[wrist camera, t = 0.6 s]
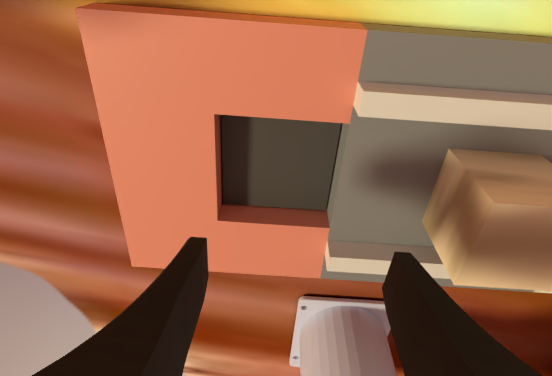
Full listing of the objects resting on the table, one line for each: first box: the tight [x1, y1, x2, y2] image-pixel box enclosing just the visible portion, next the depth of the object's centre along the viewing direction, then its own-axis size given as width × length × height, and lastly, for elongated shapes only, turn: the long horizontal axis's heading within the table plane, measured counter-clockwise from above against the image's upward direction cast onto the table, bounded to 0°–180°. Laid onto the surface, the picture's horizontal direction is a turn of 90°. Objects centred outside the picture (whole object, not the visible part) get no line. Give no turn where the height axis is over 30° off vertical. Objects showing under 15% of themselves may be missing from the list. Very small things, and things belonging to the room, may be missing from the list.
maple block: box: [422, 149, 552, 291], centre depth 18 cm, size 5×5×5 cm
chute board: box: [75, 3, 552, 293], centre depth 21 cm, size 16×42×4 cm, turn 86°
